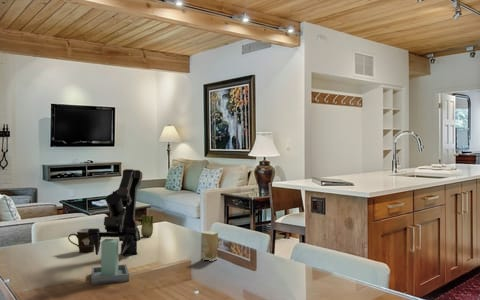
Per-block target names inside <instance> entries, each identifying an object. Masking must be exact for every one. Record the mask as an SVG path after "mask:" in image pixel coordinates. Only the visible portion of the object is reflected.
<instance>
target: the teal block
mask: <svg viewBox="0 0 480 300" xmlns="http://www.w3.org/2000/svg"><path fill="white" fill-rule="evenodd" d="M100 242H101V243H100V247H101V248H100V249H101V250H100V251H101V252H100V255H101V256H100V260H101V261H100V267H101V276H110V275H117V274H118V265H119V238H105V239H103V240H102V241H100Z"/></svg>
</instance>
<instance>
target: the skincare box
mask: <svg viewBox="0 0 480 300" xmlns="http://www.w3.org/2000/svg"><path fill="white" fill-rule="evenodd" d="M200 238H201V240H200V241H201V243H200V260H201V259H204V260H211V261H213V260H214V259H216V258H217V259H218V241H219V240H218V239H219V233H218V232H215V231H209V230H206V231H203V232H201V236H200ZM204 260H203V261H204Z"/></svg>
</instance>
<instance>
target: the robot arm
mask: <svg viewBox="0 0 480 300" xmlns="http://www.w3.org/2000/svg"><path fill="white" fill-rule="evenodd" d="M142 180H143V171H141V170H140V169H133V168H132V169H130V168H128V169H127V168H125V169H123V170H122V178H121V180H120V184H119V187H118V189H116V190H115V191H114V190H113V191H112V192H111V193H110V194H108V195H107V196H106V198H105V202H106V205H107V208H108V211H109V212H110V213H109V216H104V219H103V226H104V230H105V231H100V228H96V227H95V228H90V227H89V228H90V229H89V230H88V231H87V236H88V238H89V241H91V242H92V243H94V244H95V245H94V252H95V255H96V256H98V254H99V251H100V247H101V242H102V241H101V239H102V238H118V242H122V243H120V255H121V256H134V255H138V250H137V249H138V243H137V242H138V241H141V231H140V230H139V227H138V223H137V222H136V218H135V217H136V216H135V215H136V204H137V190H138V188H139V187H140V185H141V182H142Z"/></svg>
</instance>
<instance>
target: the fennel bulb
mask: <svg viewBox="0 0 480 300" xmlns="http://www.w3.org/2000/svg"><path fill="white" fill-rule="evenodd" d="M141 223H142V224H141V227H140V229H141V230H140V235H141V236H142V237H143V236H144V237H145V238H150V237H152V235H153V233H154V215H150V214H149V215H146V214H145V215H141ZM149 236H150V237H149Z"/></svg>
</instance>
